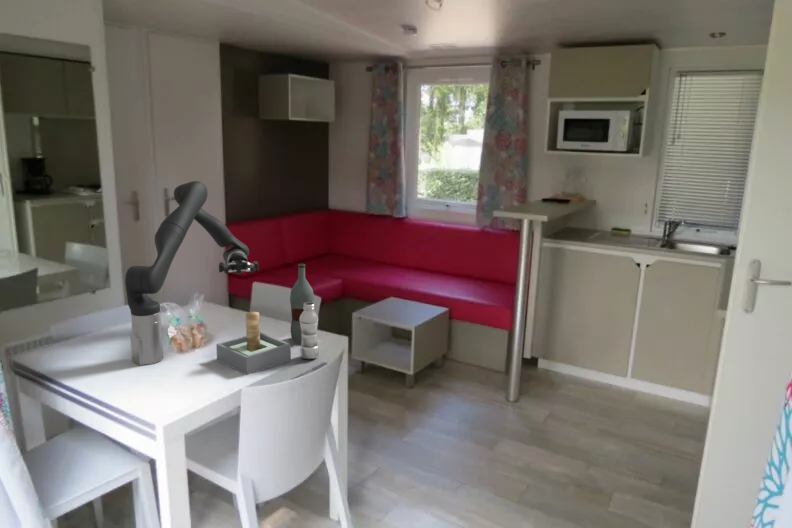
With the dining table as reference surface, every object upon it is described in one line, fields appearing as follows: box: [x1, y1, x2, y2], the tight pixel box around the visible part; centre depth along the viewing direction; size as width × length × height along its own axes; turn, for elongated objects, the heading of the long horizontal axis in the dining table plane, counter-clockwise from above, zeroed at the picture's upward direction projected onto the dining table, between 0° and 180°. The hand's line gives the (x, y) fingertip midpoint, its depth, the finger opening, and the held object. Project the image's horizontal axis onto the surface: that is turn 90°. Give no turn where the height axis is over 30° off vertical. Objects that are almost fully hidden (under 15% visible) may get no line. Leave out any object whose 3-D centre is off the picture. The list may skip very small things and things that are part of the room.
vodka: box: [289, 263, 315, 345], centre depth 216 cm, size 9×9×30 cm
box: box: [215, 331, 292, 376], centre depth 198 cm, size 18×18×6 cm
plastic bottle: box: [299, 302, 320, 360], centre depth 199 cm, size 6×7×20 cm
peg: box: [245, 311, 261, 352], centre depth 196 cm, size 4×4×16 cm
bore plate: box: [229, 340, 278, 356], centre depth 198 cm, size 12×12×4 cm
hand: (239, 270), depth 205 cm, fingers open, 8 cm apart
